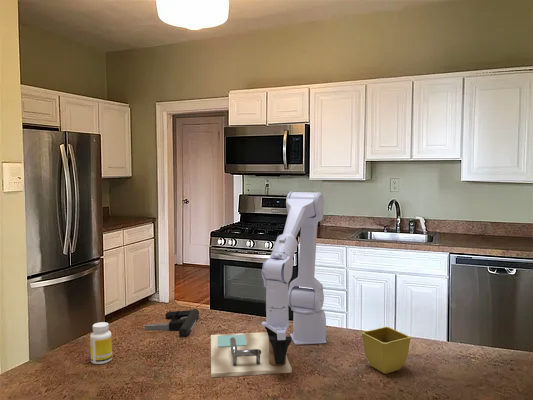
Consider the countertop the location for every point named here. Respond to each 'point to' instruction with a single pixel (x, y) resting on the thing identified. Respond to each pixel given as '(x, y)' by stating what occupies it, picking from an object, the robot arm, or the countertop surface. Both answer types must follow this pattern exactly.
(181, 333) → the door handle
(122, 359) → the countertop surface
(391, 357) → the flower pot
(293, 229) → the robot arm
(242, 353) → the bent wire
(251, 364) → the birch board
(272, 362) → the walnut cylinder
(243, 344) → the pad
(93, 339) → the supplement bottle
